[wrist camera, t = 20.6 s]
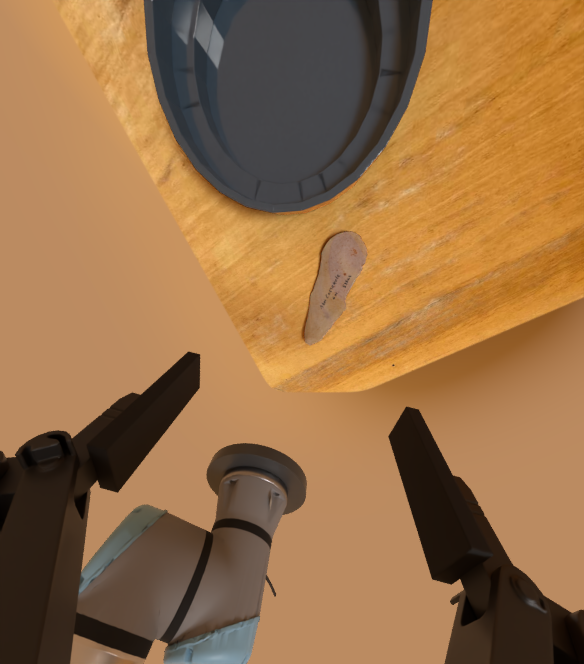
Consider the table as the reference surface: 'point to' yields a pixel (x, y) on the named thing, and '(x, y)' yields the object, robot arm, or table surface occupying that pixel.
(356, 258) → the stone tool
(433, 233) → the table surface
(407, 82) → the bowl
